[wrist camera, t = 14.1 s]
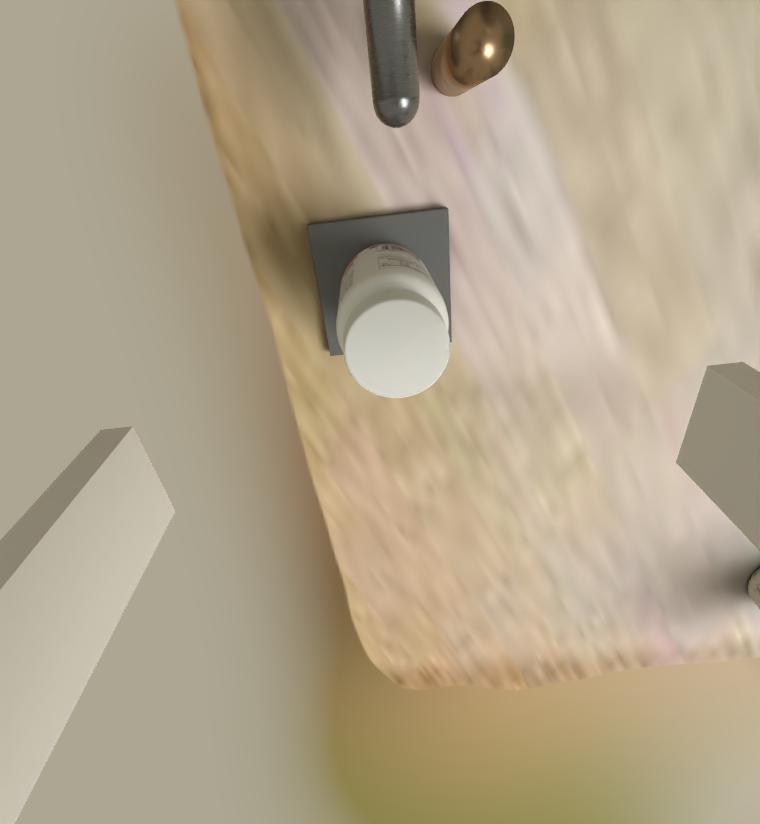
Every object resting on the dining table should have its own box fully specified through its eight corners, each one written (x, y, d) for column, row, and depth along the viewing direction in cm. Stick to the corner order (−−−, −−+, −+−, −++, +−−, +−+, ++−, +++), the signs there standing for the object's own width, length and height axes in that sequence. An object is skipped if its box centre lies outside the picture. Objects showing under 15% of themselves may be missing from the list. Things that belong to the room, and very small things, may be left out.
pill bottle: (372, 346, 25) (375, 427, 18) (323, 275, 23) (304, 334, 16) (446, 302, 24) (482, 369, 17) (401, 222, 22) (421, 260, 14)
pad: (308, 224, 22) (306, 226, 22) (446, 207, 22) (448, 208, 21) (331, 351, 26) (330, 355, 25) (449, 338, 25) (451, 342, 25)
